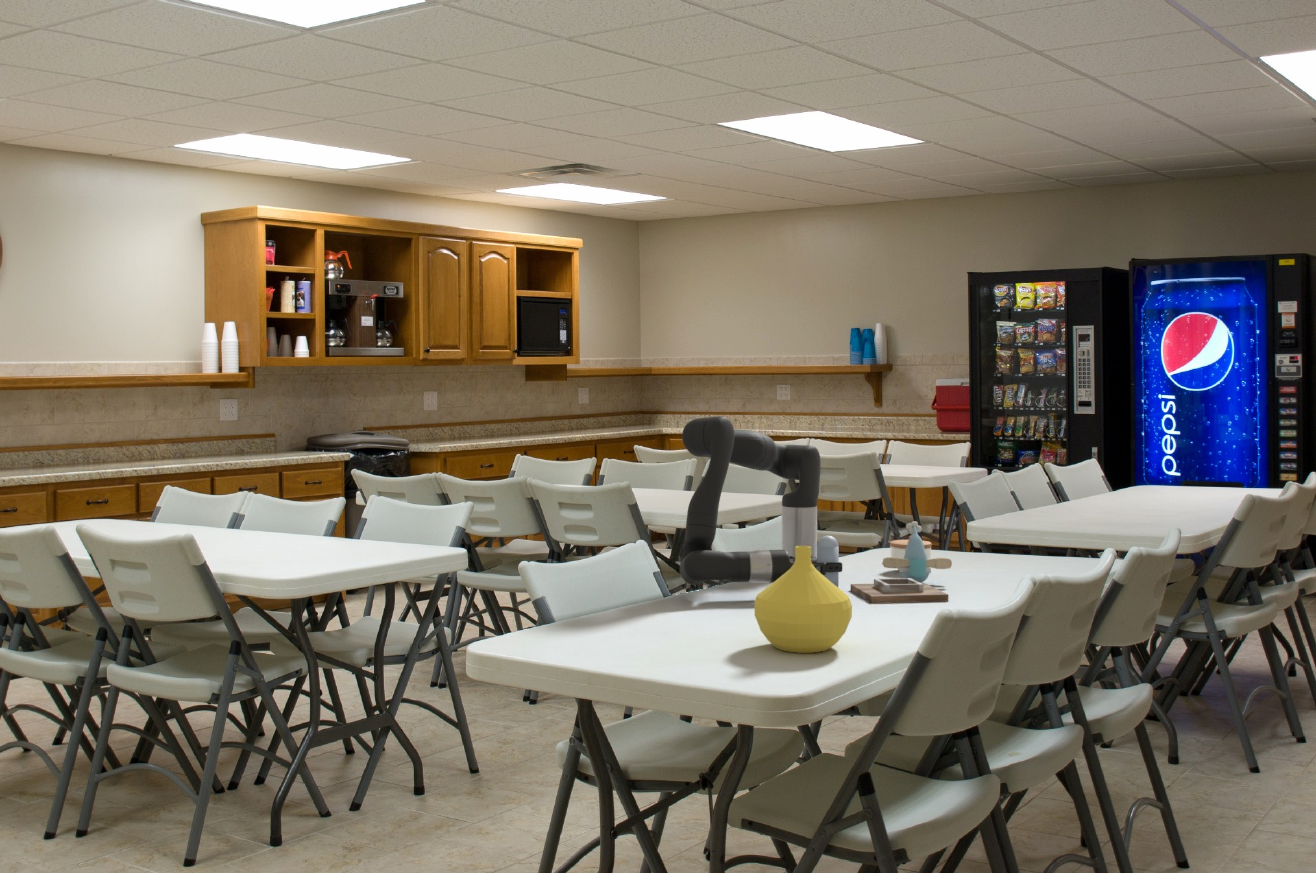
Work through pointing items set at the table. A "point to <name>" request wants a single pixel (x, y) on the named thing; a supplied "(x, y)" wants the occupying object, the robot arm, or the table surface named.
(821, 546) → the grey rounded-top cylinder
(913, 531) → the teal toy airplane
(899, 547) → the lidded jar
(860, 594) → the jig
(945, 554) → the table surface
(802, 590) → the vase
